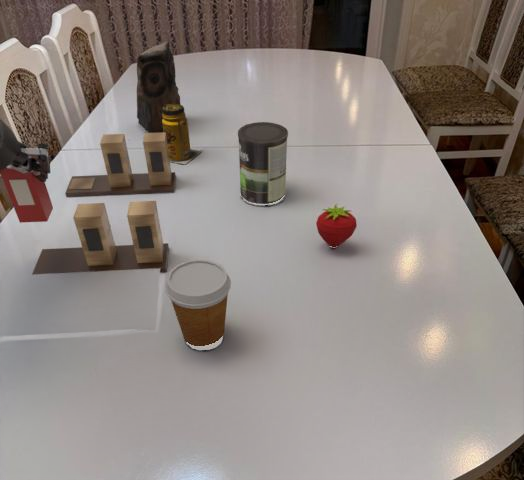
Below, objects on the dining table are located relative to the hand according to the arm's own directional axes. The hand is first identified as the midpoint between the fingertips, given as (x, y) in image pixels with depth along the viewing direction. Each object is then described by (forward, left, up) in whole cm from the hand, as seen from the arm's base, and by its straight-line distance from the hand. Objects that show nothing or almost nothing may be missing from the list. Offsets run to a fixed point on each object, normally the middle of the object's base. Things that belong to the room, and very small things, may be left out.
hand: (27, 176), depth 83 cm
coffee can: (+41, +21, -17) cm, 49 cm away
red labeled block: (0, -2, -6) cm, 6 cm away
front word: (+9, -2, -17) cm, 19 cm away
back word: (+9, +28, -17) cm, 34 cm away
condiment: (+22, +43, -17) cm, 51 cm away
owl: (+15, +63, -17) cm, 67 cm away
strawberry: (+53, -1, -17) cm, 56 cm away
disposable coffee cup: (+28, -24, -17) cm, 41 cm away
